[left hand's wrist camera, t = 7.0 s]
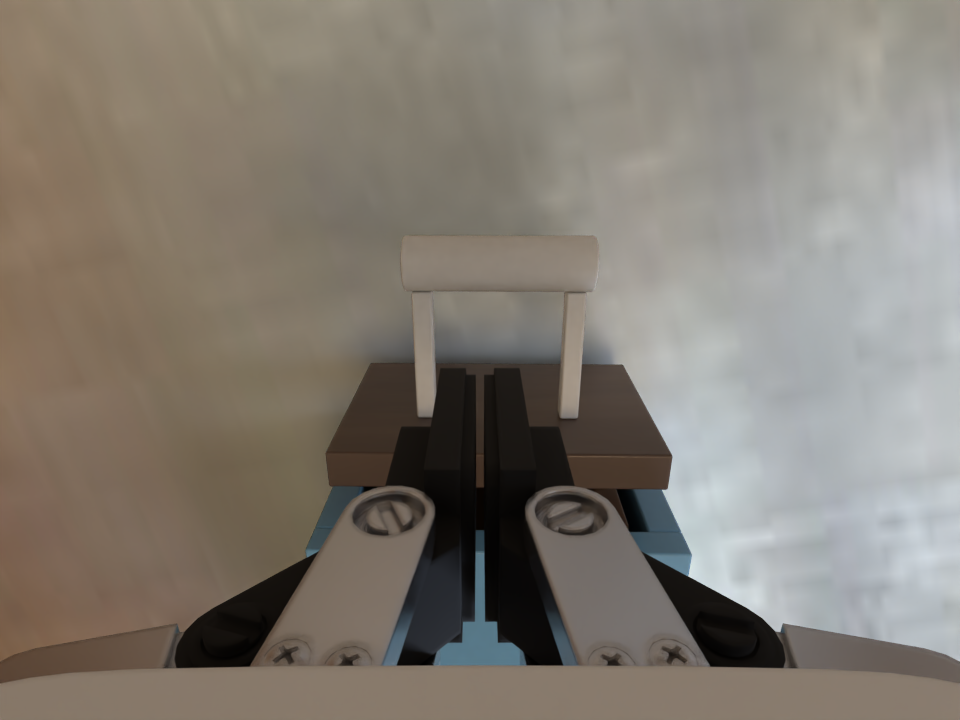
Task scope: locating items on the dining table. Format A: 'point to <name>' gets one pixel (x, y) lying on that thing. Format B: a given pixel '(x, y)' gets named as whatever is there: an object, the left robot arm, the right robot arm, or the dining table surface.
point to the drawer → (547, 387)
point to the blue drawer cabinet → (480, 639)
